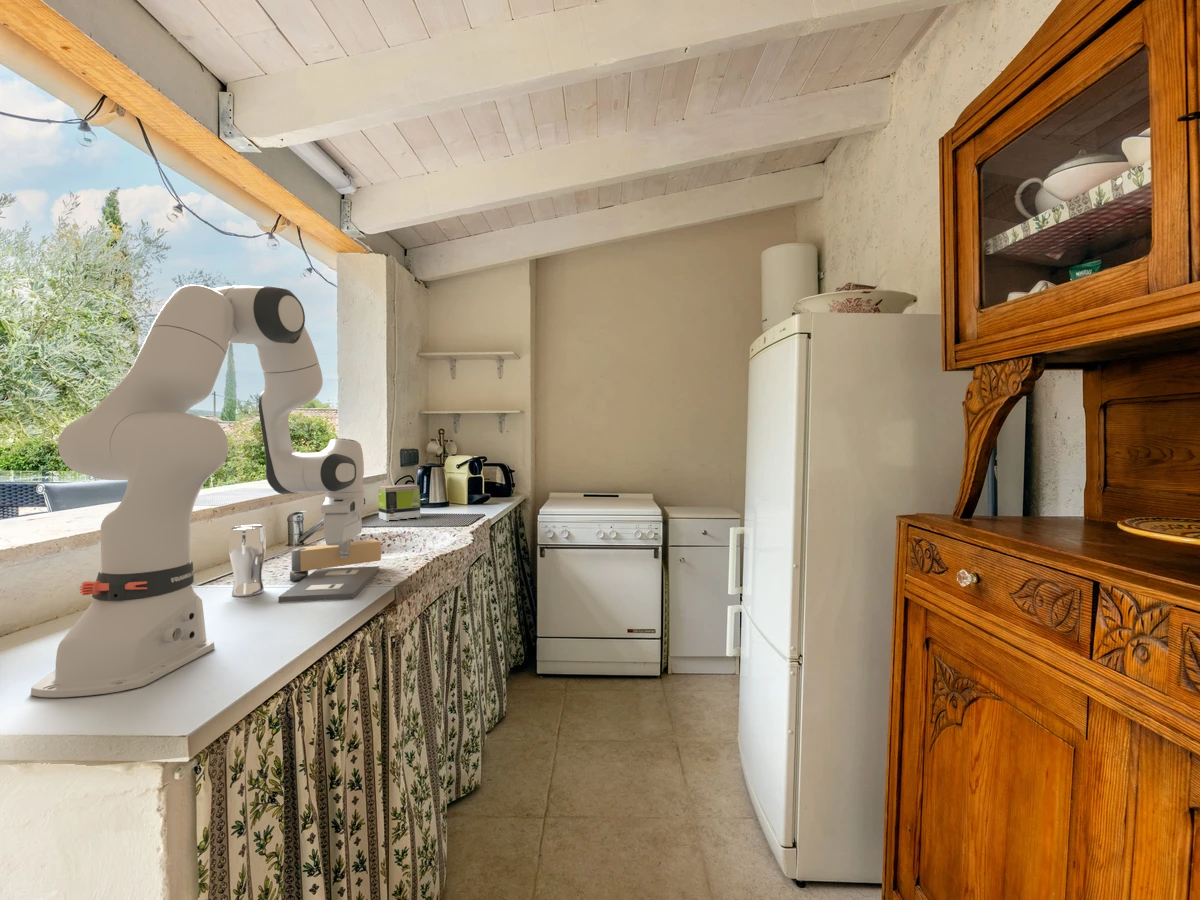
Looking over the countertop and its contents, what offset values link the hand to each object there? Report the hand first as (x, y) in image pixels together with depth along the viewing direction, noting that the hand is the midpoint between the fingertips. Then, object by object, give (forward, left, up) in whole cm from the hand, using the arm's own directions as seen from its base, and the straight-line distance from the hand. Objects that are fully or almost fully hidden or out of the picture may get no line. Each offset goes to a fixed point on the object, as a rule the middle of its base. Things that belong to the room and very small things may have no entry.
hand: (344, 557), depth 140 cm
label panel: (-8, 0, -5) cm, 10 cm away
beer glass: (-12, +17, -5) cm, 22 cm away
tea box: (+104, +4, -5) cm, 104 cm away
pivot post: (-1, +10, -5) cm, 11 cm away
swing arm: (+3, +3, -2) cm, 5 cm away
